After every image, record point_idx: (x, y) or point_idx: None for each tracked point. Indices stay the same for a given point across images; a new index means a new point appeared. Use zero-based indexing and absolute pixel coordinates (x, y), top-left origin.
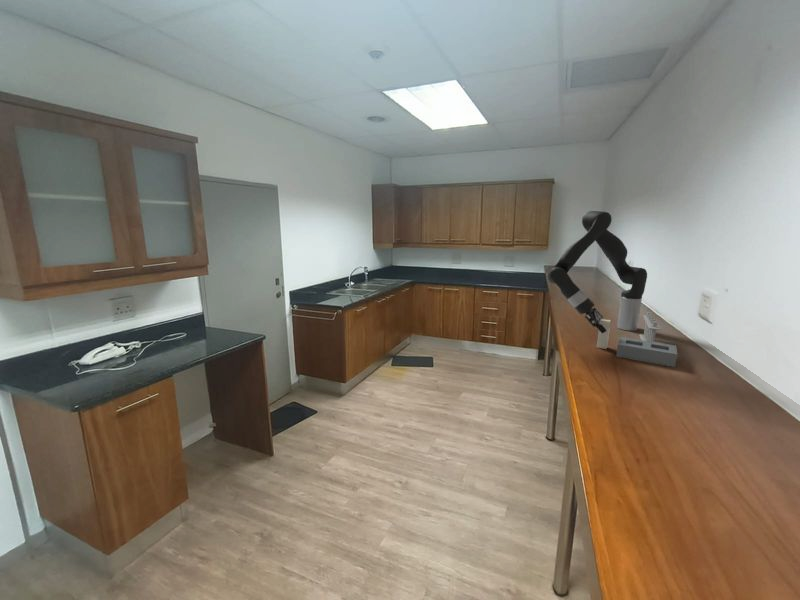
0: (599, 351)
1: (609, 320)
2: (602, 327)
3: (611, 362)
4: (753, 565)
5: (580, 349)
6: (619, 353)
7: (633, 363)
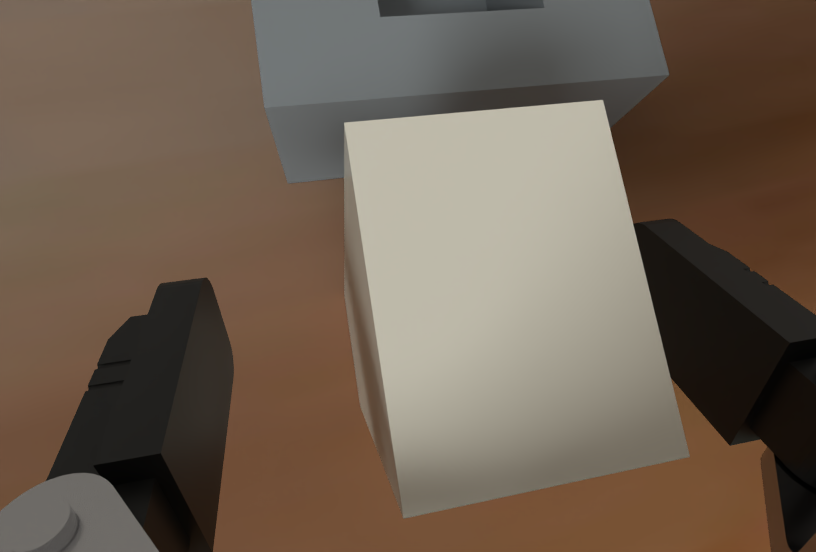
0: None
1: (413, 153)
2: (735, 289)
3: (768, 152)
4: None
5: (653, 510)
6: None
7: None
